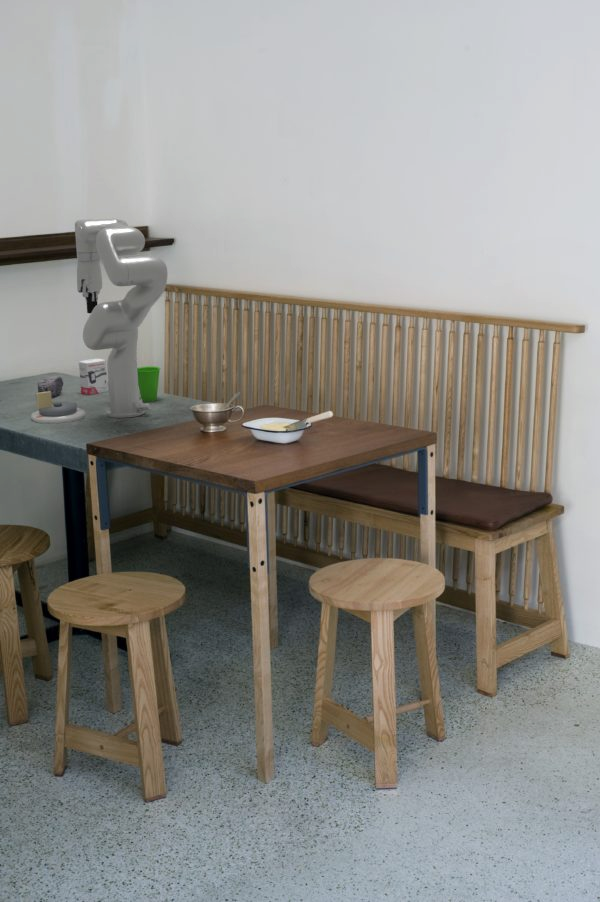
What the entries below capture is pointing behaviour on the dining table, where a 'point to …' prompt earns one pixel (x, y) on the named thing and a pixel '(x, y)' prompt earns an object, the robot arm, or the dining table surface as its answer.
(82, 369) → the ink box
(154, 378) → the cup
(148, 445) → the dining table surface
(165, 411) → the dining table surface
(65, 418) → the plate
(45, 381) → the pumice stone
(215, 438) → the dining table surface
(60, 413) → the dial
